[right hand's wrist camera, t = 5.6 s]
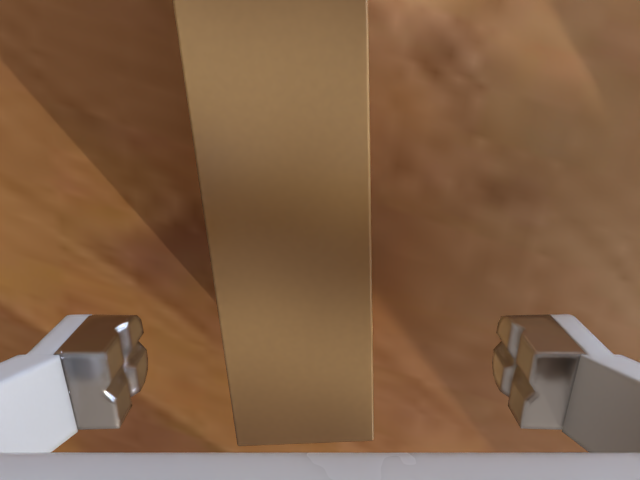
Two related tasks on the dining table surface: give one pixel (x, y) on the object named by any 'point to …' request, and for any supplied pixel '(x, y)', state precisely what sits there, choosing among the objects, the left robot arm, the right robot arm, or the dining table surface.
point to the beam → (286, 208)
